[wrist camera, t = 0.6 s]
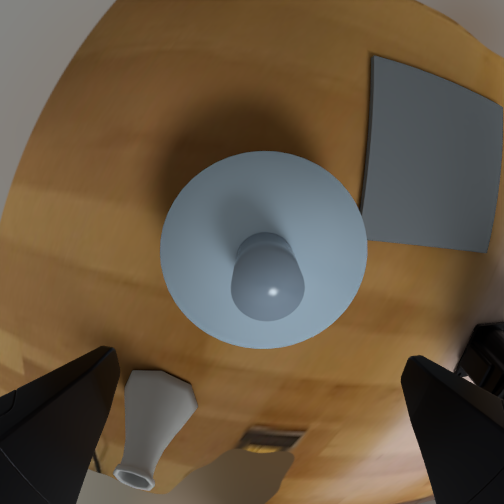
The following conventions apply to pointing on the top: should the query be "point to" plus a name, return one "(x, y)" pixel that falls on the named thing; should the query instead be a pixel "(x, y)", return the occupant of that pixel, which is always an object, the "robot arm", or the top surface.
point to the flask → (151, 423)
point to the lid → (263, 249)
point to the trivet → (430, 160)
